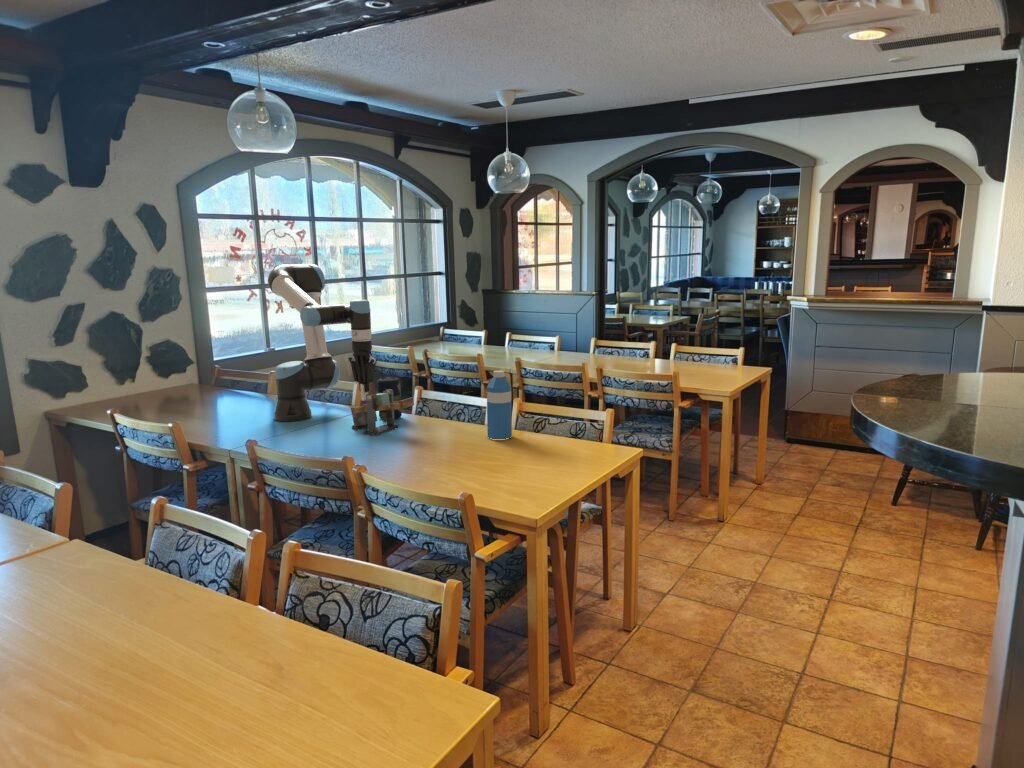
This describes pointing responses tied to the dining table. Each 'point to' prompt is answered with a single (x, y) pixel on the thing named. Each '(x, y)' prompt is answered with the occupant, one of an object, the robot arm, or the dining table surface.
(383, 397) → the rider
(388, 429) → the pivot frame
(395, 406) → the beam
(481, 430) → the dining table surface
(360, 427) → the stop pad
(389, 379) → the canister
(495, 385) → the water bottle
